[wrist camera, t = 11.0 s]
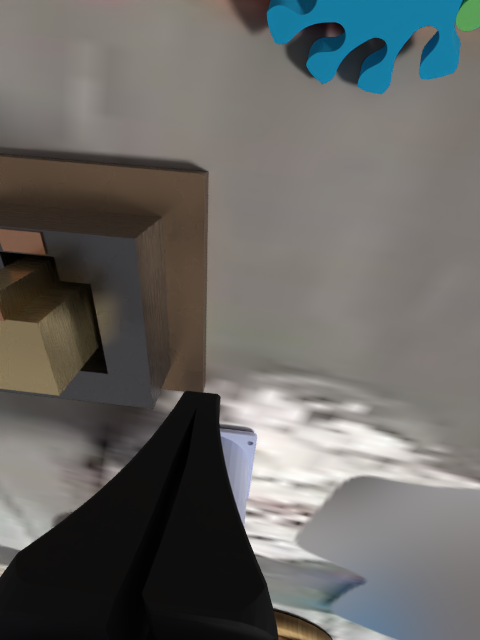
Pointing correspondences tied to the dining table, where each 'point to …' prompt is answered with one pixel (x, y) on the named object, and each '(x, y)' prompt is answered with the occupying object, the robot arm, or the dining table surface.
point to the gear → (376, 33)
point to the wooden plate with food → (297, 629)
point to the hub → (119, 266)
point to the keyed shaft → (43, 326)
